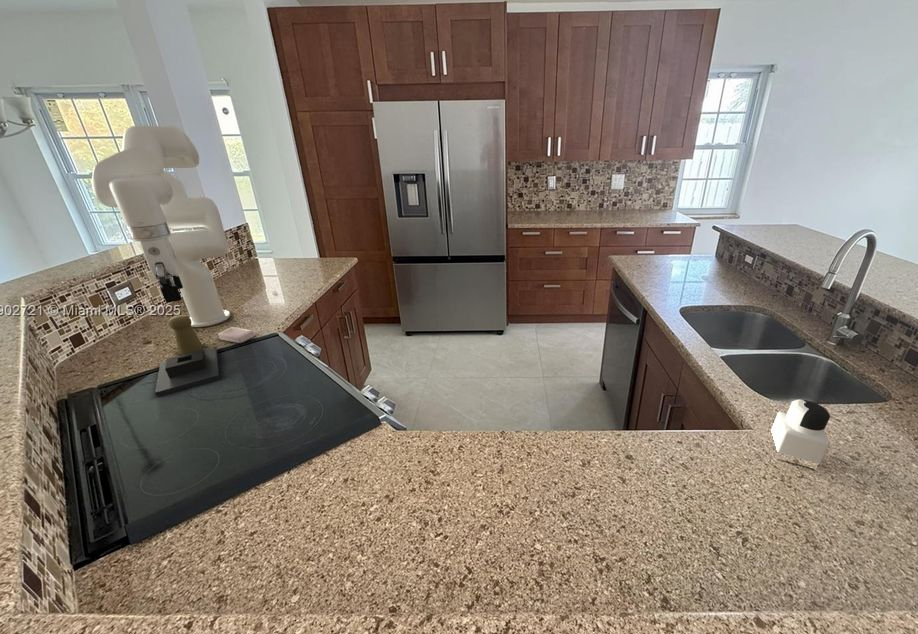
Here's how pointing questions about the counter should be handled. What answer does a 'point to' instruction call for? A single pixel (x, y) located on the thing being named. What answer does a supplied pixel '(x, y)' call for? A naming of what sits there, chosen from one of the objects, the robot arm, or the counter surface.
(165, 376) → the base pad
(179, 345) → the cork
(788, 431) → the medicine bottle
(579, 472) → the counter surface
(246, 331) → the soap bar
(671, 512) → the counter surface
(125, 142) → the robot arm
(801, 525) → the counter surface
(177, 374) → the top pad
